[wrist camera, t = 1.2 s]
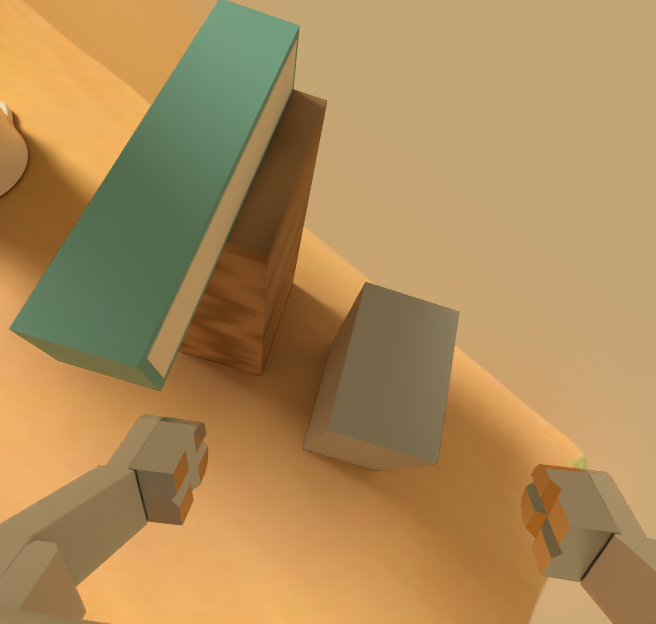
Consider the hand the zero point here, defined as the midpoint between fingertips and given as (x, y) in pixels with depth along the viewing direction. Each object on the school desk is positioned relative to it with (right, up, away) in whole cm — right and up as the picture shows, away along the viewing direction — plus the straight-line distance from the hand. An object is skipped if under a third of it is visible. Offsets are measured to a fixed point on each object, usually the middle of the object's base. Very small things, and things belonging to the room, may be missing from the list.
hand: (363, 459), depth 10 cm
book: (-8, +10, +12) cm, 17 cm away
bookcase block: (-11, +3, +37) cm, 39 cm away
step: (+2, -6, +35) cm, 36 cm away
